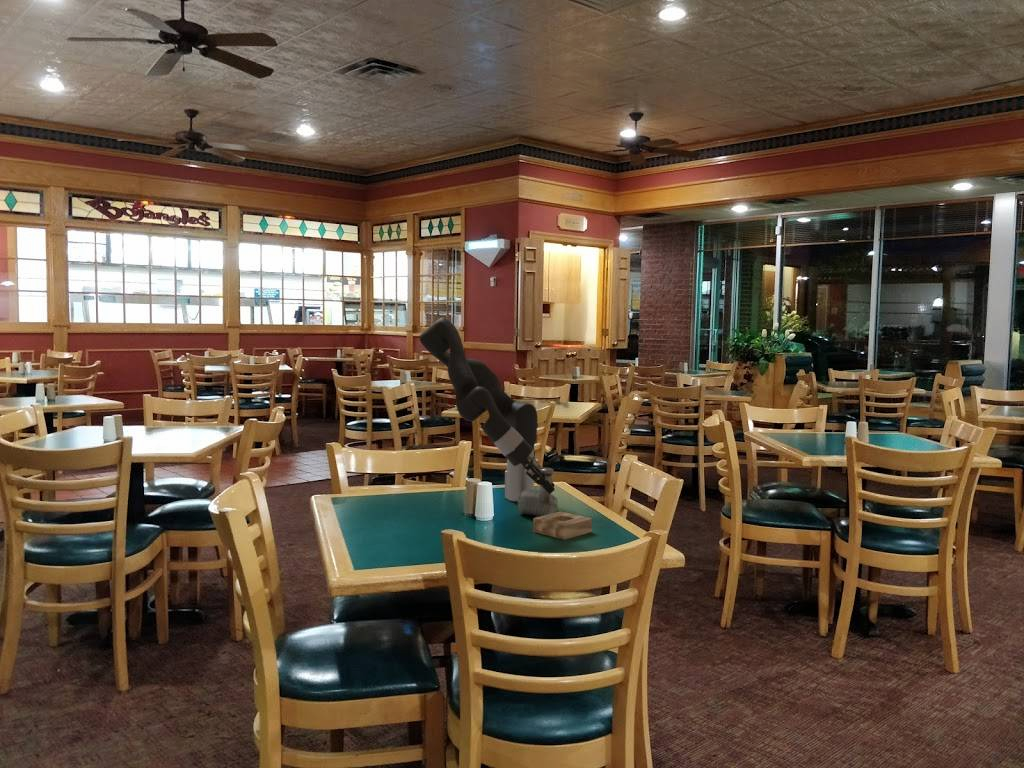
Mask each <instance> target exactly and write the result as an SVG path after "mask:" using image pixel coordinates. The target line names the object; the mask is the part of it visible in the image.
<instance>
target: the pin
mask: <svg viewBox="0 0 1024 768" xmlns="http://www.w3.org/2000/svg"><path fill="white" fill-rule="evenodd" d="M540 469H541V470H542V474H543V475H544V477H546V479H547V480H548V481H549V483H550V484H551V483H552V482H553V481H552V479H553V475H554V471H555V470H554V469H553V468H551V467H542V468H540ZM538 488H539V489H538V490H539V502H538V503H540V504H545V505H546V504H550V497H551V494H552V493H551V494H549V493H548V492H547V491H546V490H545V489H544V488H543V487H542V486H541V485H539V487H538Z"/></svg>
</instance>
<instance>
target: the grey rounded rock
mask: <svg viewBox="0 0 1024 768" xmlns="http://www.w3.org/2000/svg"><path fill="white" fill-rule="evenodd" d="M538 502H539V489H534V490H524V491H523V492H522V493H521V494H520V496H519V499H518V502H517V509H518V511H519V513H521V514H522V515H528V516H534V517H541V516H544V515H548V514H552V513H556V512H557V509H558V503H559V502H558V499H557V497H556V495H554V494H552V493H551V497H550V504H546V505H545V504H540V503H538Z"/></svg>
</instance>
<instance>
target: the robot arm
mask: <svg viewBox="0 0 1024 768" xmlns="http://www.w3.org/2000/svg"><path fill="white" fill-rule="evenodd" d="M419 340H420V343H421V345H422V346H423V347H424V348H425V350H426V352H428V353H429V354H431V356H433V357H434V358H436V359H437V360H438V361H440V362H441V364H443V365H445V367H447V375H448V378H449V381H450V383H451V385H452V387H453V389H454V394H455V404H456V405H455V406H456V409H457V412H458V415H459V416H460V417H461V418H462V419H463V420H465V421H467V422H474V421H476V420H477V419H479V418H480V417H481V416H482V415H483V414H484V413H485V412H486V411H487V412H488V417H487V419H486V420H485V422H484V423H483V424H482V426H481V427H482V428H481V429H482V431H483V433H484V434H485V435H486V436H487V437H488V438H489V439H490V440H491V441H492V442H493V444H494V445H495V447H496V448H497V449H498V450H499V452H500V453H501V454H502V455H503V456H504V458H506V459H507V460H506V470H505V471H504V498H505V499H506V500H508V501H510V502H517V503H518V499H519V496H520V494H521V493H522V492H523V491H524V490H535V484H536V485H538V486H540V485H541V486H542V487H543V488H544V489H545V490H546V491H547V492H548V493H549V494H552V493H553V492H555V490H556V488H555V484H554V482H553V481H552V483H551V484H550V483H549V481H548V480H547V479H546V477H544V475H543V474H542V470H541V469H540V468H543V467H542V465H541V464H540V463H539V462H538V460H537V459H536V457H535V444H536V442H537V435H538V412H537V409H536V407H535V406H534V405H533V404H531V403H529V402H521V401H516V400H515V399H513V398H512V397H511V396H509V395H508V394H507V393H506V392H505V391H504V389H503V388H502V386H501V382H500V380H499V378H498V376H497V374H496V373H495V372H494V371H493V370H492V369H491V368H490V367H489V366H488V365H487V364H486V363H485V362H484V361H481V360H477V359H474V358H468V357H467V355H466V352H465V351H466V350H465V349H464V346H463V342H462V339H461V335H460V333H459V331H458V329H457V328H456V326H455V324H453V323H452V321H451V320H449V319H448V318H446V317H440V318H438V319H437V320H435V321H434V323H432V324H431V325H430V326H428V328H426V329H424V331H422V332H421V334H420V335H419ZM448 350H449V351H448Z"/></svg>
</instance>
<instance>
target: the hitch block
mask: <svg viewBox="0 0 1024 768" xmlns="http://www.w3.org/2000/svg"><path fill="white" fill-rule="evenodd" d="M532 519H533V521H532V523H533V524H532V525H533V527H532V532H533V533H537V534H540V535H543V536H544V535H545V536H547V537H552V538H556V539H560V540H564V541H565V540H569V539H572V538H575V537H578V536H582V535H586V534H588V533H592V532H593V531H592V528H593V527H592V525H593V523H592V521H593V519H592V517H587V516H584V515H583V516H582V515H578V514H573V513H570V512H566V511H556V512H555V513H552V514H548V515H544V516H541V517H538V516H536V517H534V518H532Z"/></svg>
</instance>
